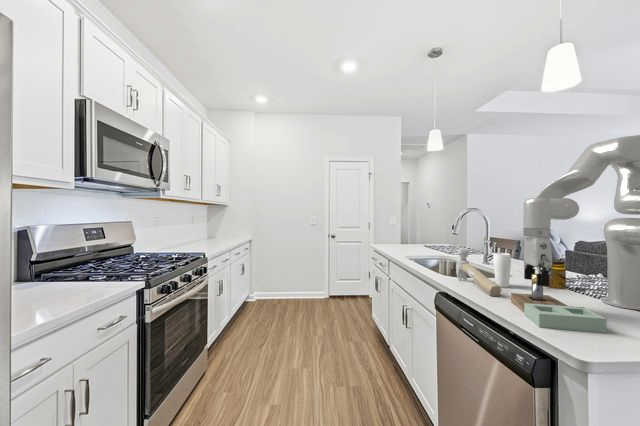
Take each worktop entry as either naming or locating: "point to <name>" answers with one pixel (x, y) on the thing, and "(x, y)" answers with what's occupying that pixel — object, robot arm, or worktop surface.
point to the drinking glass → (502, 268)
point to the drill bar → (536, 289)
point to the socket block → (527, 298)
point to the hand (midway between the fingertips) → (535, 282)
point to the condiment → (557, 276)
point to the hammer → (474, 274)
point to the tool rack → (565, 317)
